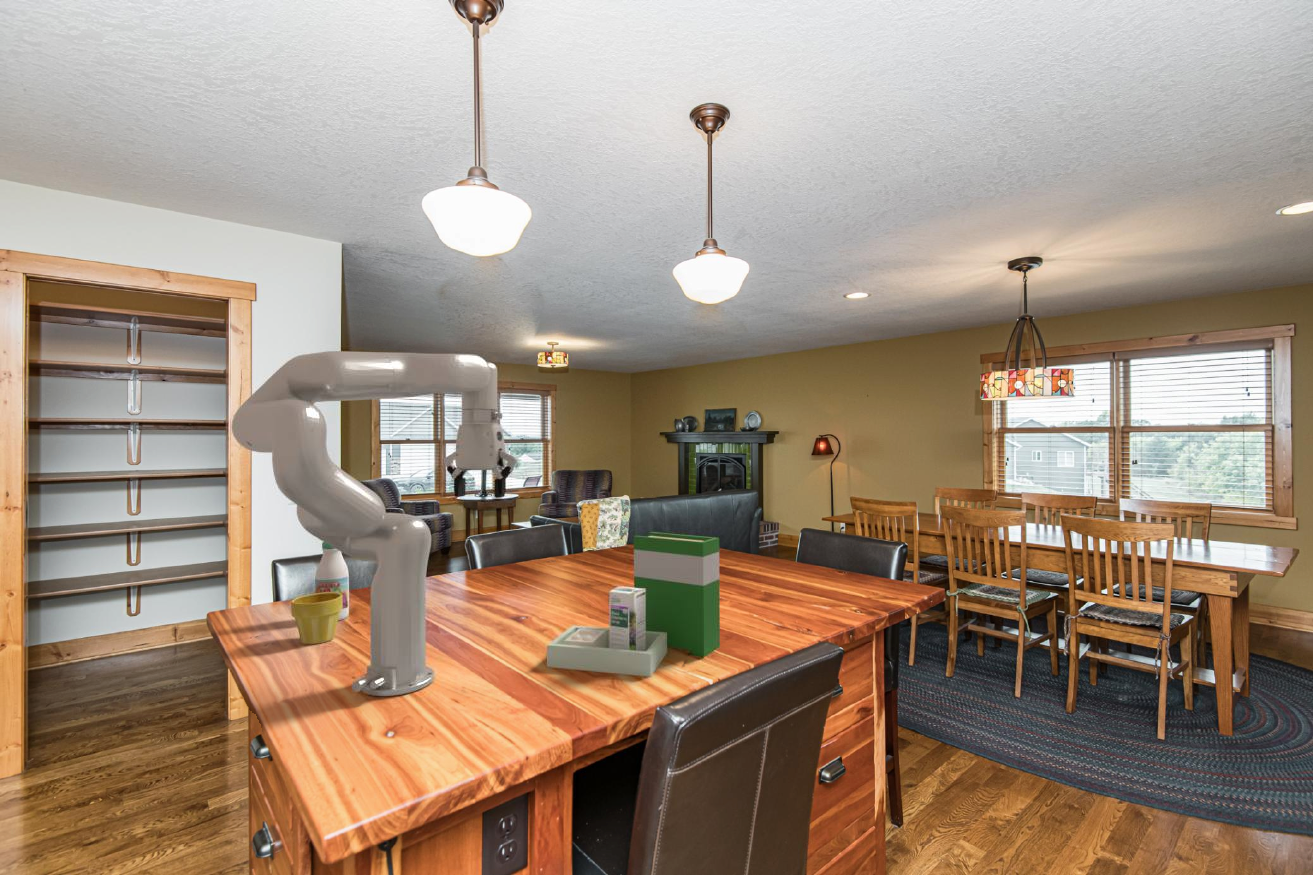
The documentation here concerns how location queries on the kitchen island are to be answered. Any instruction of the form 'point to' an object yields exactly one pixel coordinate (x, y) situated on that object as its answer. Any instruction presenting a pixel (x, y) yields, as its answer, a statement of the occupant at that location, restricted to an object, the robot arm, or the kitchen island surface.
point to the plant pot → (317, 616)
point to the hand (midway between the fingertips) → (479, 496)
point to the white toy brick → (587, 638)
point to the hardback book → (680, 589)
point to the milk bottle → (333, 576)
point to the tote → (607, 655)
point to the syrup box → (627, 618)
